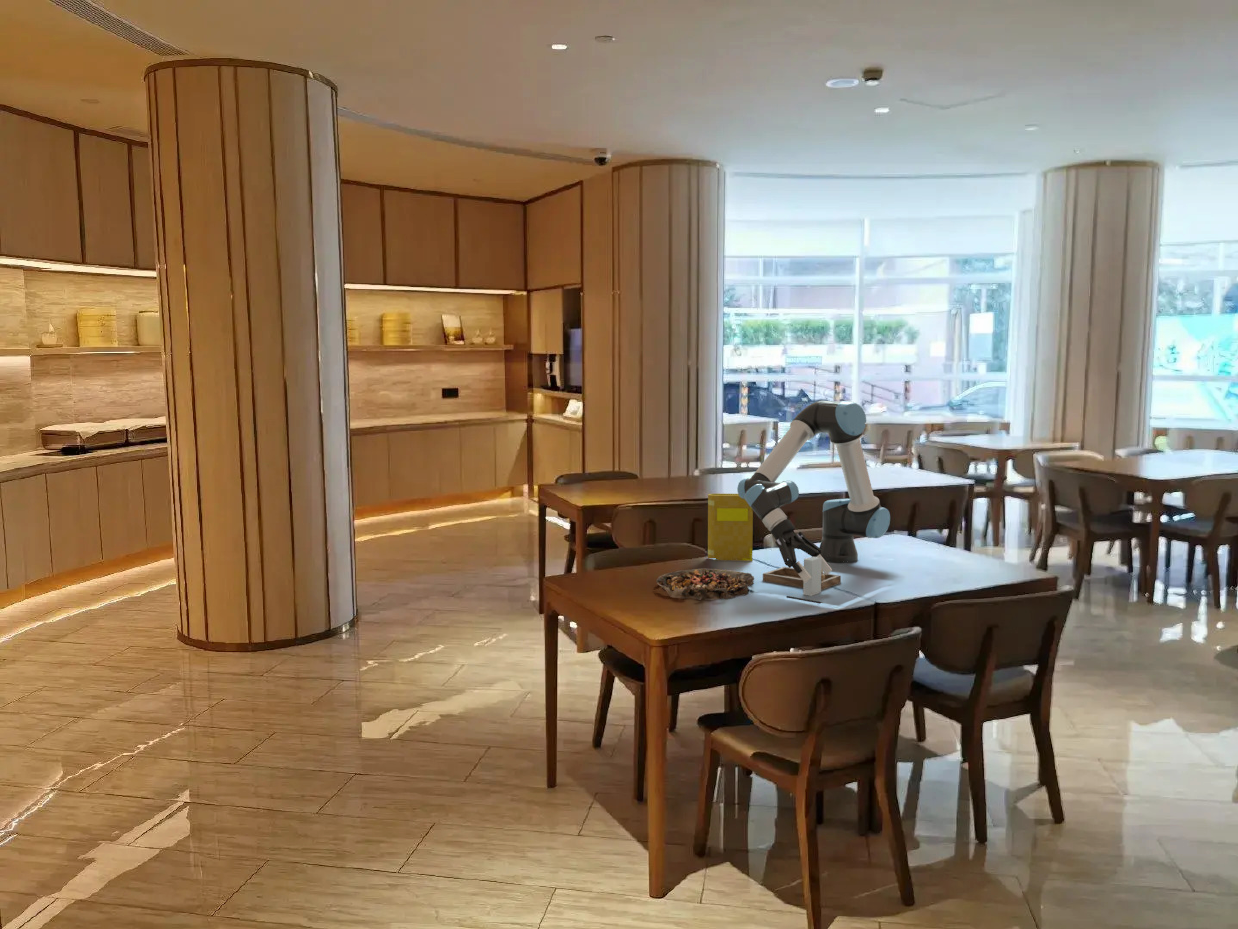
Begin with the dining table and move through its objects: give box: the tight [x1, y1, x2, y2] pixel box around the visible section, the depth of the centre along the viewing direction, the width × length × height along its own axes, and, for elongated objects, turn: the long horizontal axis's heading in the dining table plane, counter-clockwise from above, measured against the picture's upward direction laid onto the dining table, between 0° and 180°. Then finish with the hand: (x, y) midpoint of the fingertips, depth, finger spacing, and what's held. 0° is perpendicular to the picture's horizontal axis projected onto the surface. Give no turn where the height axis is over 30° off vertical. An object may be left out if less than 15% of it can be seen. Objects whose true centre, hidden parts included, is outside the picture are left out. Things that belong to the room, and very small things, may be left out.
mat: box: [786, 595, 823, 604], centre depth 310 cm, size 12×12×1 cm
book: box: [707, 493, 754, 562], centre depth 368 cm, size 17×7×25 cm, turn 84°
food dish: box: [655, 567, 755, 601], centre depth 323 cm, size 35×33×8 cm
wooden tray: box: [762, 566, 842, 591], centre depth 326 cm, size 14×22×4 cm, turn 49°
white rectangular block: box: [802, 556, 822, 597], centre depth 310 cm, size 6×3×12 cm, turn 139°
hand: (818, 576), depth 308 cm, fingers open, 13 cm apart
